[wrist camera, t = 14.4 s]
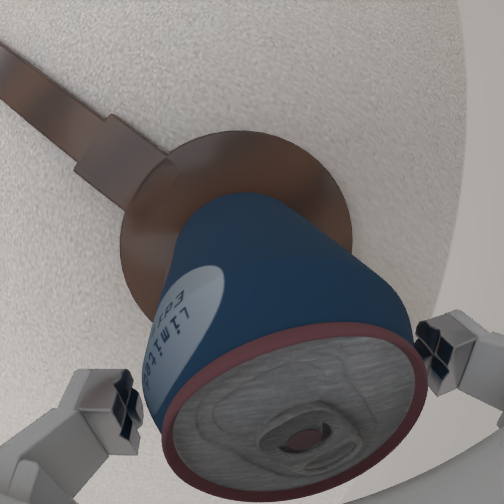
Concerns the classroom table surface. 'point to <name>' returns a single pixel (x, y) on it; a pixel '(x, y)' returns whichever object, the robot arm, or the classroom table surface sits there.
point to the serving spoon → (168, 173)
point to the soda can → (276, 356)
